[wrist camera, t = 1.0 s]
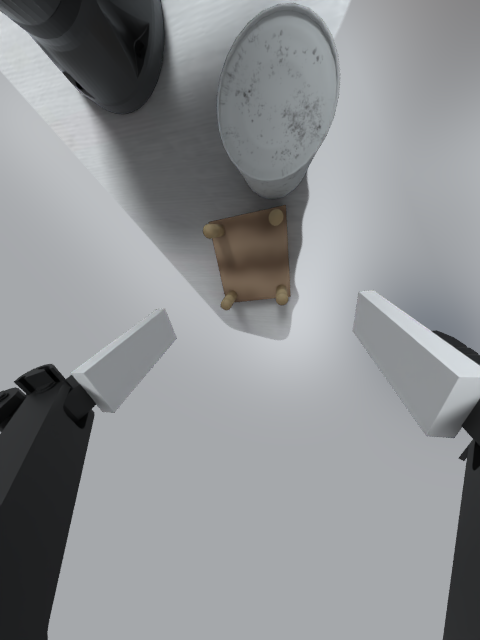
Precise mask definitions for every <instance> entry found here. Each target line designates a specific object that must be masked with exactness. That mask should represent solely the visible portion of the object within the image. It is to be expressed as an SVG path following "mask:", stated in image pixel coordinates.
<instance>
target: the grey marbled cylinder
mask: <svg viewBox="0 0 480 640" xmlns="http://www.w3.org/2000/svg"><path fill="white" fill-rule="evenodd" d="M339 85H340V70H339V59H338V53H337V50H336V46H335V43H334V40H333V37H332V34H331V33H330V31H329V29H328V28H327V26H326V24H325V23H324V21H323V19H321V18H320V17H319V16H318V15H317V14H316V13H314V12H313V11H312V10H311V9H310V8H307V7H305V6H302V5H299V4H296V3H286V4H277V5H275V6H273V7H270V8H268V9H266V10H263V11H262V12H261V13H259V14H258V15H257V16H256V17H254V18H253V19H252V20H251V21H250V22H248V24H247V25H246V26H245V27H244V29H243V30H242V31H241V33H240V34H239V35H238V37H237V38H236V39H235V41H234V43H233V45H232V47H231V49H230V51H229V53H228V55H227V57H226V60H225V63H224V67H223V70H222V73H221V76H220V81H219V88H218V94H217V120H218V127H219V133H220V137H221V140H222V143H223V146H224V149H225V150H226V152H227V154H228V156H229V158H230V160H231V161H232V162H233V164H234V165H235V166H236V167H237V168H238V170H239V171H240V173H241V174H242V176H243V177H244V179H245V180H246V182H247V184H248V186H249V187H250V188H251V189H252V191H253V192H254V193H256V194H257V195H259V196H260V197H263V198H266V199H276V198H281V197H283V196H285V195H287V194H289V193H290V192H291V191H293V190H294V189H295V188H296V187H297V186H298V184H299V183H300V182H301V180H302V179H303V177H304V175H305V174H306V171H307V169H308V167H309V165H310V163H311V161H312V159H313V157H314V155H315V154H316V152H317V151H318V149H319V147H320V146H321V144H322V142H323V141H324V139H325V137H326V136H327V133H328V131H329V128H330V126H331V123H332V121H333V118H334V115H335V111H336V106H337V102H338V98H339Z"/></svg>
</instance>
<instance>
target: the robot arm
mask: <svg viewBox="0 0 480 640" xmlns="http://www.w3.org/2000/svg"><path fill="white" fill-rule="evenodd" d="M0 11H1V12H2V13H4V14H5V15H6V16H8V17H9V18H10V19H11V20H13V21H14V22H15V23H17V24H18V25H19V26H20V27H22V28H23V29H24V30H25V31H27V32H28V33H29V35H30V36H31V37H32V38H33V39H34V40H35V42H36V43H37V44H38V45H39V46H40V47H41V48H42V50H43V51H44V52H45V53H46V54H47V55H48V57H49V58H50V59H51V60H52V61H53V62H54V64H55V65H56V66H57V67H58V68H59V69H60V70H61V71H62V72H63V74H64V75H65V76H66V77H67V79H68V80H69V81H70V82H71V83H72V84H73V85H74V86H75V87H76V88H77V89H78V90H79V91H80V92H81V93H82V94H83V95H85V96H86V97H87V98H89V99H90V100H92V101H93V102H95V103H96V104H98V105H99V106H100V107H102V108H104V109H106V110H108V111H110V112H113V113H118V114H125V113H130V112H133V111H135V110H137V109H138V108H140V107H141V106H142V105H143V104H144V103H145V102H146V101H147V100H148V98H149V97H150V95H151V94H152V92H153V90H154V88H155V85H156V83H157V80H158V77H159V73H160V69H161V64H162V58H163V47H164V27H163V15H162V8H161V2H160V0H0ZM353 332H354V334H355V335H356V336H357V338H358V339H359V341H360V342H361V344H362V345H363V347H364V348H365V349H366V351H367V352H368V354H369V355H370V357H371V358H372V359H373V361H374V362H375V364H376V365H377V366H378V368H379V369H380V371H381V372H382V374H383V375H384V376H385V377H386V379H387V381H388V382H389V384H390V385H391V386H392V388H393V389H394V391H395V392H396V394H397V395H398V397H399V398H400V399H401V401H402V402H403V404H404V405H405V407H406V408H407V409H408V411H409V412H410V414H411V415H412V417H413V418H414V419H415V421H416V422H417V424H418V425H419V426H420V428H421V429H422V431H423V432H424V433H425V435H426V436H432V437H446V438H455V436H456V435H457V434H458V432H459V431H460V429H461V428H462V427H463V428H464V429H465V430H466V431H467V433H468V434H469V435H470V436H471V437H472V438H473V440H472V441H471V443H470V444H469V445H468V446H467V448H466V449H465V450H464V452H463V453H462V454H461V456H460V457H459V459H461V460H463V461H464V460H465V459H466V458H467V463H466V470H465V477H464V485H463V492H462V500H461V507H460V515H459V523H458V530H457V537H456V545H455V553H454V560H453V567H452V575H451V583H450V590H449V597H448V605H447V612H446V620H445V627H444V635H443V640H480V355H478V353H477V352H475V351H474V350H472V349H471V348H467V346H466V345H465V344H463V343H461V342H460V341H458V340H457V339H455V338H454V337H451V336H449V335H447V334H444V333H442V332H439V331H430V330H429V329H427V328H426V327H424V326H423V325H422V324H420V323H419V322H417V321H416V320H414V319H413V318H412V317H410V316H409V315H407V314H406V313H405V312H403V311H402V310H400V309H399V308H398V307H396V306H395V305H394V304H392V303H391V302H389V301H388V300H386V299H385V298H384V297H382V296H380V295H379V294H378V293H377V292H375V291H374V290H372V291H361V292H359V293H358V299H357V306H356V313H355V320H354V326H353ZM176 339H177V338H176V335H175V333H174V330H173V328H172V325H171V323H170V320H169V318H168V315H167V313H166V310H165V309H156V310H155V311H153V312H152V313H151V314H149V315H148V316H147V317H145V318H144V319H143V320H141V321H140V322H138V323H137V324H136V325H134V326H133V327H132V328H130V329H129V330H128V331H126V332H125V333H124V334H122V335H121V336H120V337H118V338H117V339H116V340H114V341H113V342H112V343H110V344H109V345H107V346H106V347H105V348H104V349H102V350H101V351H99V352H98V353H97V354H95V355H94V356H93V357H91V358H90V359H89V360H87V361H86V362H85V363H83V364H82V365H81V366H79V367H78V368H76V369H75V370H74V371H72V372H71V374H72V375H71V376H70V377H68V378H67V379H65V378H64V377H63V376H62V374H61V373H60V372H59V371H58V370H57V369H56V367H55V366H54V365H52V364H47V365H43V366H40V367H37V368H36V369H33V370H31V371H29V372H27V373H25V374H24V375H22V376H20V377H19V378H18V379H17V380H16V381H14V382H15V383H16V384H17V385H18V386H19V387H20V388H21V389H22V390H23V391H24V392H25V393H26V395H25V394H24V393H23V392H22V391H21V390H19V389H18V388H11V389H8V390H5V391H1V392H0V432H1V434H0V640H48V636H47V631H48V624H49V619H50V614H51V610H52V605H53V601H54V596H55V592H56V587H57V583H58V578H59V574H60V569H61V564H62V560H63V555H64V551H65V546H66V542H67V537H68V533H69V528H70V524H71V519H72V515H73V510H74V506H75V501H76V497H77V492H78V487H79V483H80V478H81V474H82V469H83V465H84V460H85V456H86V451H87V446H88V442H89V437H90V433H91V429H92V424H93V419H94V412H93V411H92V408H93V407H94V406H95V405H97V406H98V407H99V408H100V409H101V411H102V412H111V413H115V411H116V410H117V409H118V408H119V407H120V405H121V404H122V403H123V402H124V401H125V399H126V398H127V397H128V396H129V395H130V393H131V392H132V391H133V390H134V389H135V388H136V386H137V385H138V384H139V383H140V382H141V380H142V379H143V378H144V377H145V376H146V374H147V373H148V372H149V371H150V369H151V368H152V367H153V366H154V365H155V364H156V363H157V361H158V360H159V358H161V357H162V355H163V354H164V353H165V352H166V351H167V349H168V348H169V347H170V346H171V345H172V343H173V342H174V341H175V340H176Z"/></svg>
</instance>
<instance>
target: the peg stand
mask: <svg viewBox="0 0 480 640" xmlns="http://www.w3.org/2000/svg"><path fill="white" fill-rule="evenodd" d="M203 234H204V236H205V237H206V238H209V239H211V238H212V240H213V244H214V249H215V253H216V258H217V262H218V267H219V271H220V276H221V280H222V285H223V289H224V294H225V298H224V299H223V301H222V302H221V307H222V309H224V310H229V309H230V308H231V307H232V305H233V303H234V302H242V301H252V300H262V299H272V298H276V302H277V303H278V304H279V305H285V304H286V303H287V302H288V297H291V296H290V276H289V257H288V238H287V219H286V205H283V206H279V207H274V208H270V209H265V210H261V211H256V212H252V213H247V214H243V215H238V216H234V217H229V218H225V219H220V220H216V221H211V222H209V224H206V225H205V226H204V228H203Z"/></svg>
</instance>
